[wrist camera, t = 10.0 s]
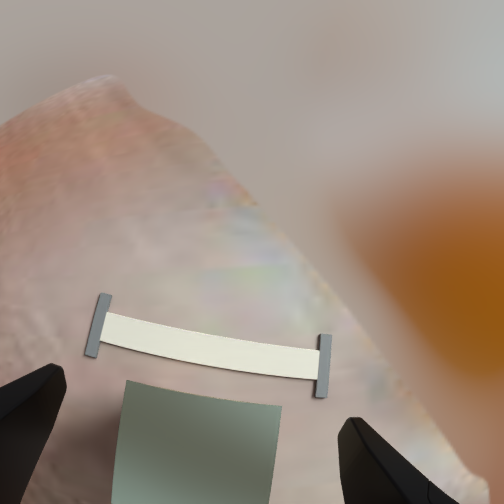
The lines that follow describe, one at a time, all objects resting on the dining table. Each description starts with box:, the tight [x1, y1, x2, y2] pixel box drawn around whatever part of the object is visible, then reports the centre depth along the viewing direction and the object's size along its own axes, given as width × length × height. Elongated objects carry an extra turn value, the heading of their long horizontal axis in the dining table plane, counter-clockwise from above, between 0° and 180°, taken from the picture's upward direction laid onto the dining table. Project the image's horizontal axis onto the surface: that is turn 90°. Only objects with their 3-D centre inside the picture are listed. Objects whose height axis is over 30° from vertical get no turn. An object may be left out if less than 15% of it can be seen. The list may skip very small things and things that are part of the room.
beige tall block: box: [111, 380, 282, 504], centre depth 12 cm, size 4×4×12 cm
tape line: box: [85, 293, 332, 398], centre depth 19 cm, size 16×4×1 cm, turn 83°
